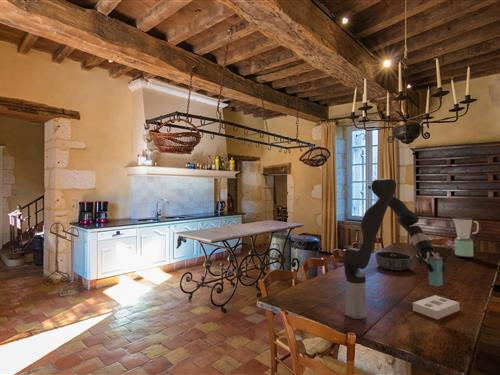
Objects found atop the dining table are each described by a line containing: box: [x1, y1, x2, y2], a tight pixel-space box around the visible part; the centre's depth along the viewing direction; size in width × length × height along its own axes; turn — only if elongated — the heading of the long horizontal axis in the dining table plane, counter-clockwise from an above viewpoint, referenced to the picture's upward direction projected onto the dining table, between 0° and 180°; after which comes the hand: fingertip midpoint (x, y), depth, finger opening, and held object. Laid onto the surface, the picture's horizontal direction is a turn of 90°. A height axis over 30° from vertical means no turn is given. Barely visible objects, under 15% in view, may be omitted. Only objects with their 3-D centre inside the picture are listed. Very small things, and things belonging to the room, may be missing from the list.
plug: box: [428, 256, 444, 287], centre depth 151 cm, size 4×4×14 cm
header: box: [412, 294, 460, 320], centre depth 151 cm, size 20×12×4 cm, turn 119°
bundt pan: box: [374, 250, 413, 272], centre depth 229 cm, size 26×26×10 cm
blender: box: [451, 216, 480, 260], centre depth 257 cm, size 19×13×35 cm
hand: (437, 271), depth 149 cm, fingers closed on plug, 5 cm apart
